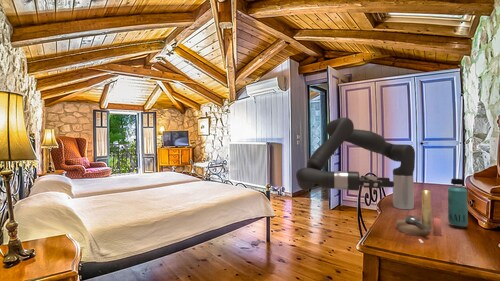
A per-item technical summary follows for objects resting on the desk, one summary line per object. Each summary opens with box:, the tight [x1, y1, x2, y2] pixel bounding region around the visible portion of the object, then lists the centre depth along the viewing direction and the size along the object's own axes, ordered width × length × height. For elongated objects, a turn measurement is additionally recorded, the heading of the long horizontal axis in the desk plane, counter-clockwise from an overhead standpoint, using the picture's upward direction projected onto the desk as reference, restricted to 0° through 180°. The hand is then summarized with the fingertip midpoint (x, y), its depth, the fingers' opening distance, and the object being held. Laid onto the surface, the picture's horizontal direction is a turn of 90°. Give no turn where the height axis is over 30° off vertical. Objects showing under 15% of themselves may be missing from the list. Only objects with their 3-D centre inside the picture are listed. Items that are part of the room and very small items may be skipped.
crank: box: [404, 189, 432, 230], centre depth 98 cm, size 12×5×15 cm, turn 1°
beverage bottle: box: [447, 178, 469, 227], centre depth 104 cm, size 6×7×20 cm
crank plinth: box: [396, 218, 431, 237], centre depth 102 cm, size 11×11×3 cm
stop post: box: [433, 217, 442, 237], centre depth 97 cm, size 2×2×6 cm
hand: (391, 182), depth 97 cm, fingers open, 8 cm apart
